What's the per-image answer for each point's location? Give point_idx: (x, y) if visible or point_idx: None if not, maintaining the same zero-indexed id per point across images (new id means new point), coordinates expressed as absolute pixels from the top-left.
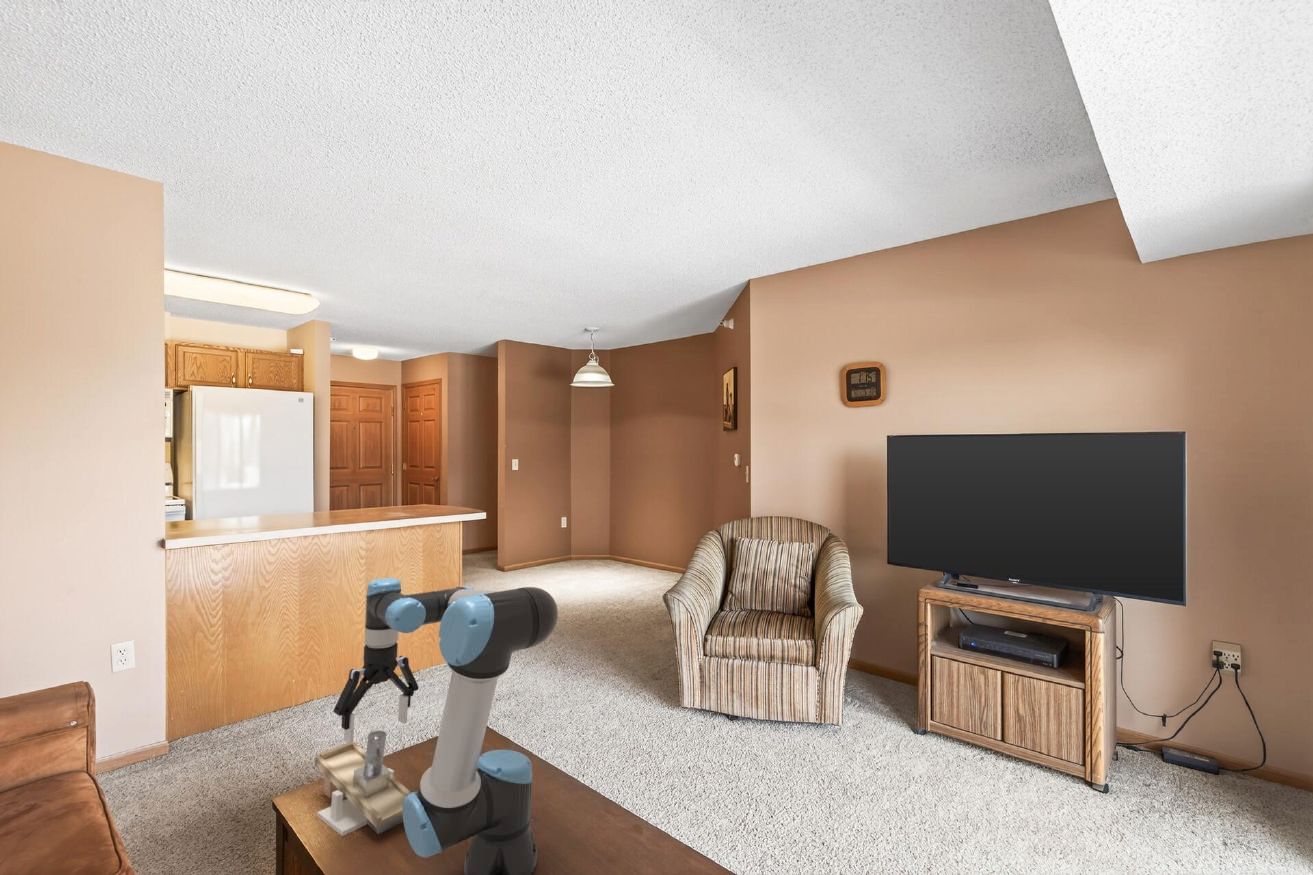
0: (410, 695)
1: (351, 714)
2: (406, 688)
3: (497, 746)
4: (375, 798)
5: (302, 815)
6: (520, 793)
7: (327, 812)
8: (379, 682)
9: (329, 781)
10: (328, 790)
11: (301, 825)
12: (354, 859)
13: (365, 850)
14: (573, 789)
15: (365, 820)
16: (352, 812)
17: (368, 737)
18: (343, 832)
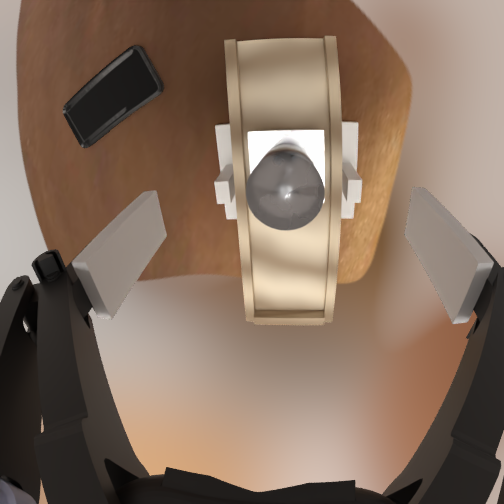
0: (58, 259)
1: (480, 277)
2: (49, 306)
3: (39, 197)
4: (299, 112)
5: (363, 235)
6: None
7: (343, 203)
8: (290, 492)
9: None
10: None
11: (380, 210)
12: (372, 43)
13: (347, 48)
14: (20, 16)
15: None
16: None
17: (322, 202)
18: (355, 122)
